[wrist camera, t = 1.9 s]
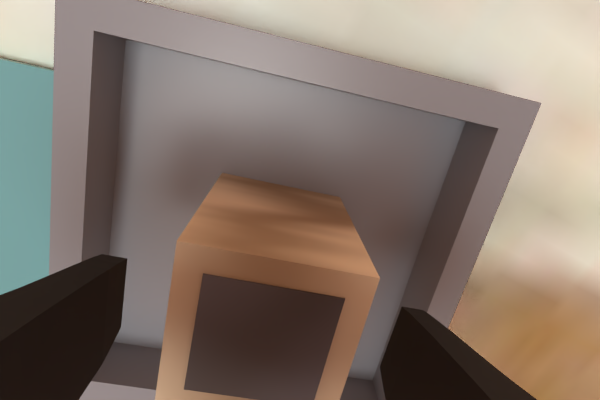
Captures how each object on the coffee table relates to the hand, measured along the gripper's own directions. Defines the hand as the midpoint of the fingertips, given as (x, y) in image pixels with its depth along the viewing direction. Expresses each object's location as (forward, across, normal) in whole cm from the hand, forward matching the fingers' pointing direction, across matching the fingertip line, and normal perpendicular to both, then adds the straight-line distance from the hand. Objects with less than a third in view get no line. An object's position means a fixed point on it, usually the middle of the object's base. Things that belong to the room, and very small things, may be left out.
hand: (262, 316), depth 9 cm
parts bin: (+5, 0, 0) cm, 5 cm away
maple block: (+5, 0, 0) cm, 5 cm away
